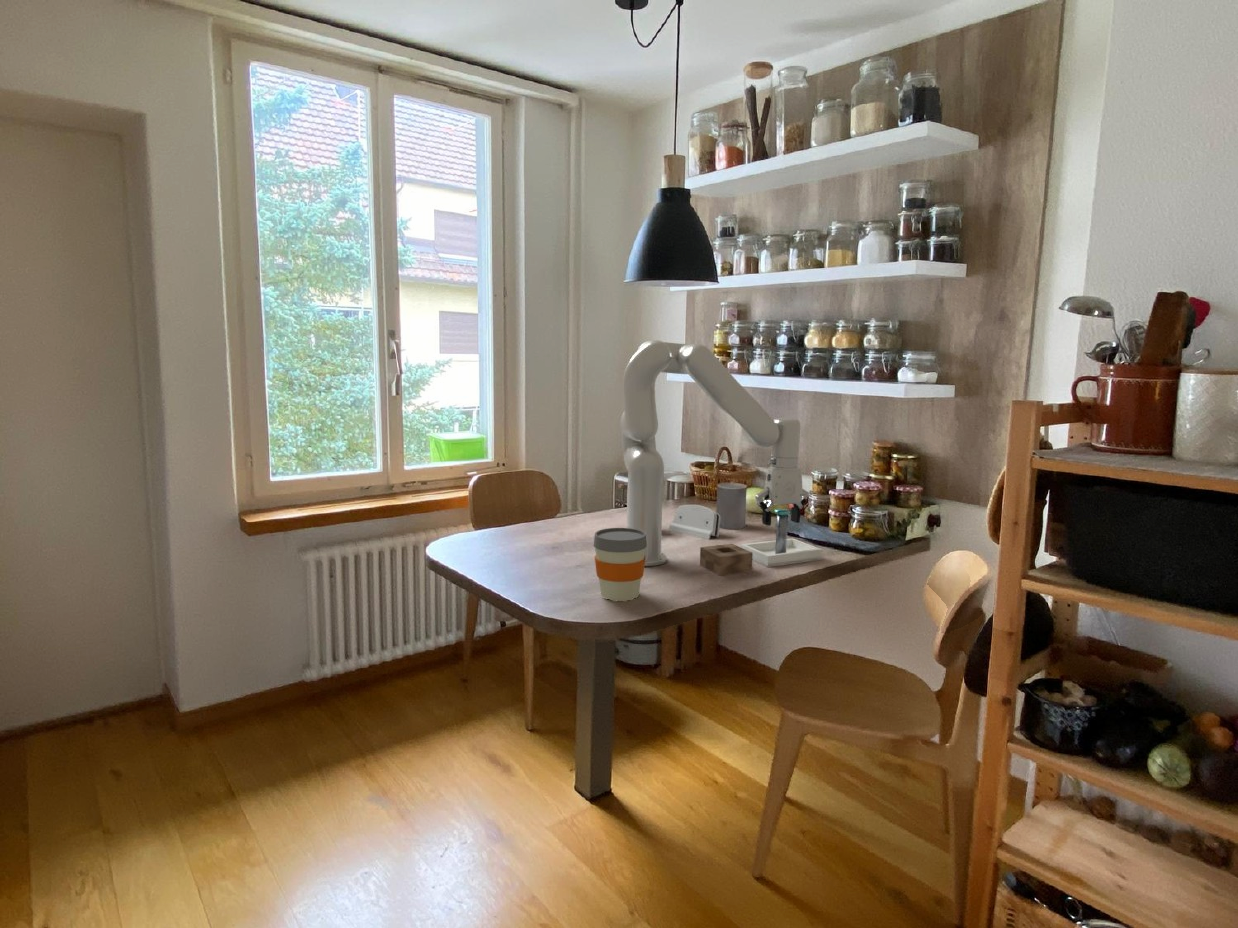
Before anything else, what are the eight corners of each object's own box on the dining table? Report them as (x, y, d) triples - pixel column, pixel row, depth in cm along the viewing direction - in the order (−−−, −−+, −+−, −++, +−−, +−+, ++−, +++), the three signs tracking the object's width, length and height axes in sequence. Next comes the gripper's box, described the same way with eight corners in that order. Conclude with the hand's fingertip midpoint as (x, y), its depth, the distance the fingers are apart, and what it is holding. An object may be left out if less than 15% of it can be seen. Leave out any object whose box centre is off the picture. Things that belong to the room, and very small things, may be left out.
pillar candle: (712, 522, 251) (714, 478, 249) (741, 522, 252) (742, 478, 250) (719, 530, 242) (720, 484, 239) (749, 529, 243) (750, 484, 240)
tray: (767, 566, 201) (767, 556, 201) (740, 554, 213) (741, 544, 212) (821, 559, 208) (821, 549, 208) (792, 548, 220) (793, 538, 220)
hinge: (667, 530, 240) (674, 500, 241) (676, 532, 244) (683, 502, 245) (709, 539, 229) (716, 507, 230) (717, 542, 233) (725, 510, 234)
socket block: (719, 575, 193) (719, 556, 193) (699, 565, 202) (700, 547, 202) (751, 571, 197) (752, 552, 197) (731, 561, 206) (731, 543, 206)
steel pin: (778, 557, 207) (780, 512, 205) (769, 553, 212) (770, 509, 210) (792, 555, 209) (794, 511, 207) (782, 551, 213) (784, 507, 211)
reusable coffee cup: (617, 583, 186) (617, 524, 184) (656, 594, 178) (657, 533, 176) (582, 595, 177) (582, 534, 175) (622, 608, 169) (623, 543, 167)
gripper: (766, 466, 199) (762, 528, 202) (818, 463, 207) (814, 523, 209) (750, 462, 206) (747, 522, 209) (801, 459, 213) (797, 518, 216)
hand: (780, 523), depth 209 cm, fingers open, 9 cm apart
